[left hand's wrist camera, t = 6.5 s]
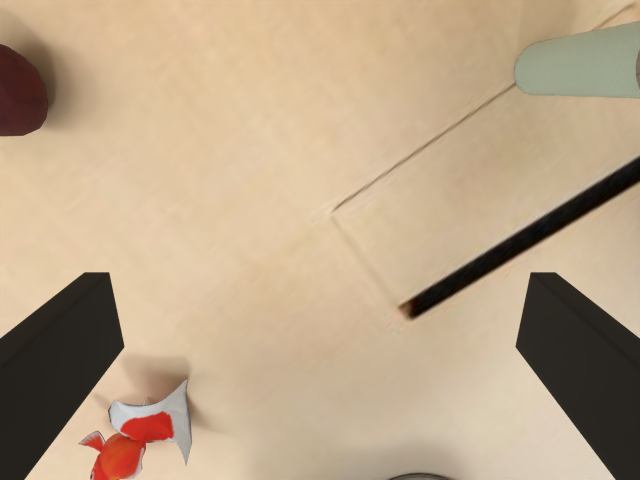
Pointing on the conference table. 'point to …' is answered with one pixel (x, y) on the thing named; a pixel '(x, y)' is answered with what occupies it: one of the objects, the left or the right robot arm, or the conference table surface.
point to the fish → (140, 434)
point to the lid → (638, 69)
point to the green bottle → (583, 64)
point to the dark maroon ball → (20, 95)
